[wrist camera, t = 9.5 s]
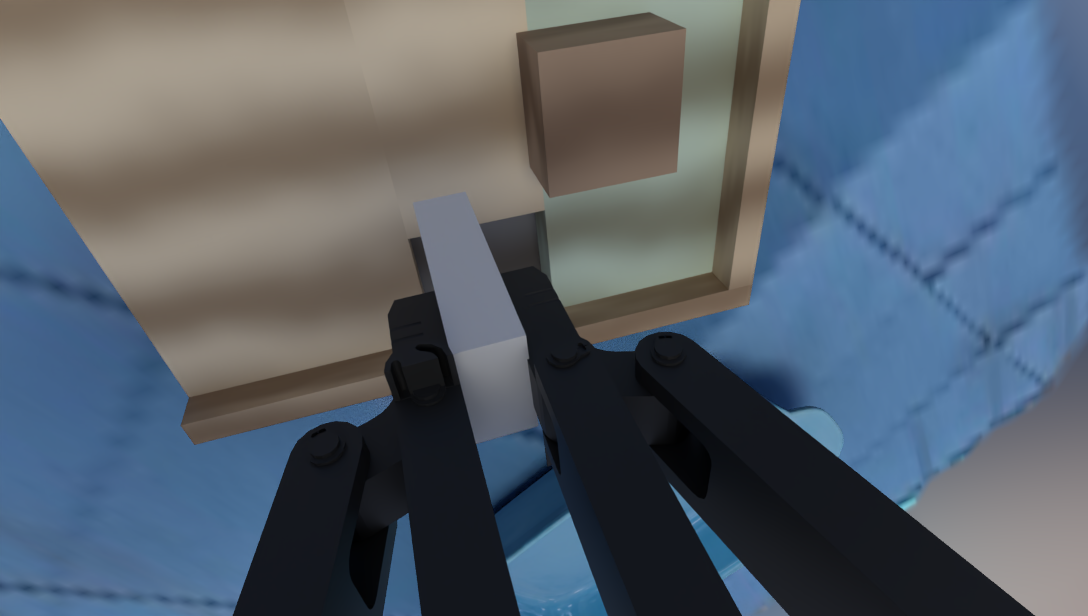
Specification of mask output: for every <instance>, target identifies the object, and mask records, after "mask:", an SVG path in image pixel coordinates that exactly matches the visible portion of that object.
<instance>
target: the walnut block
mask: <svg viewBox="0 0 1088 616" xmlns="http://www.w3.org/2000/svg"><path fill="white" fill-rule="evenodd" d="M516 38H517V48H518V58H519V67H520V77H521V87H522V96H523V106H524V116H525V125H526V135H527V145H528V155H529V164H530V168H531V170H532V171H533V173H534V174H535V176H536V177H537V179H538V181H539V182H540V184H541V185H542V187H543V189H544V190H545V192H546V193H547V195H548V196H549V198H553V197H558V196H563V195H568V194H573V193H578V192H583V191H587V190H592V189H597V188H602V187H607V186H612V185H617V184H622V183H627V182H631V181H636V180H641V179H646V178H651V177H656V176H661V175H666V174H671V173H676V172H677V164H678V148H679V133H680V118H681V102H682V87H683V72H684V56H685V41H686V28H684V27H682V26H679V25H677V24H675V23H673V22H671V21H668V20H666V19H664V18H662V17H659V16H657V15H655V14H653V13H651V12H647V13H640V14H634V15H627V16H621V17H614V18H608V19H601V20H595V21H589V22H582V23H576V24H569V25H563V26H556V27H550V28H543V29H537V30H530V31H524V32H517V33H516Z"/></svg>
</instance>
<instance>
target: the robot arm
mask: <svg viewBox="0 0 1088 616" xmlns="http://www.w3.org/2000/svg"><path fill="white" fill-rule="evenodd" d="M413 206H414V210H415V214H416V218H417V222H418V226H419V230H420V234H421V238H422V242H423V246H424V250H425V254H426V258H427V262H428V266H429V270H430V274H431V278H432V282H433V286H434V290H435V291H431V292H427V293H422V294H418V295H414V296H410V297H406V298H401V299H397V300H394V302H393V304H392V306H391V308H390V310H389V313H388V323H389V330H390V338H391V346H392V354H391V355H390V357H389V358H388V360H387V361H386V362H385V368H384V374H385V377H386V380H387V382H388V385H389V388H390V391H391V394H392V396H393V400H392V402H391V403H390V405H389V406H388V407H387V408H386V409H385V410H384V411H383V412H382V413H381V414H379V415H378V416H376V417H375V418H373V419H372V420H370V421H368V422H366V423H365V424H363V425H361V426H359V427H356V426H354V425H352V424H350V423H348V422H338V421H334V422H330V423H326V424H322V425H320V426H318V427H316V428H314V429H312V430H310V431H308V432H307V433H306V434H305V435H304V436H303V437H302V438H301V439H299V440H298V441H297V443H296V445H295V446H294V448H293V450H292V451H291V454H290V456H289V459H288V462H287V465H286V468H285V470H284V473H283V476H282V479H281V482H280V484H279V487H278V490H277V493H276V496H275V498H274V501H273V504H272V507H271V510H270V512H269V515H268V518H267V521H266V524H265V527H264V529H263V532H262V535H261V538H260V541H259V543H258V546H257V549H256V552H255V555H254V557H253V560H252V563H251V566H250V569H249V571H248V574H247V577H246V580H245V583H244V585H243V588H242V591H241V594H240V597H239V599H238V602H237V605H236V608H235V611H234V614H233V616H383V610H384V603H385V597H386V591H387V585H388V578H389V572H390V566H391V560H392V554H393V547H394V541H395V535H396V529H397V520H398V519H399V518H401V517H402V516H404V515H405V514H407V513H409V520H410V528H411V536H412V543H413V551H414V559H415V567H416V575H417V583H418V591H419V599H420V606H421V614H422V616H520V612H519V608H518V604H517V600H516V596H515V592H514V589H513V585H512V581H511V577H510V573H509V569H508V565H507V562H506V558H505V554H504V550H503V546H502V542H501V538H500V535H499V531H498V527H497V523H496V519H495V515H494V511H493V508H492V504H491V500H490V496H489V492H488V488H487V484H486V481H485V477H484V473H483V469H482V465H481V461H480V457H479V454H478V450H477V446H476V444H478V443H481V442H485V441H488V440H491V439H495V438H498V437H502V436H505V435H509V434H512V433H516V432H519V431H523V430H526V429H530V428H533V427H537V426H538V419H539V422H540V424H541V427H542V429H543V437H544V445H545V452H546V460H547V467H548V466H551V465H552V467H553V469H554V472H555V475H556V477H557V480H558V483H559V486H560V488H561V491H562V494H563V496H564V499H565V502H566V504H567V507H568V510H569V513H570V515H571V518H572V521H573V523H574V526H575V529H576V531H577V534H578V537H579V540H580V542H581V545H582V548H583V550H584V553H585V556H586V559H587V561H588V564H589V567H590V569H591V572H592V575H593V577H594V580H595V583H596V586H597V588H598V591H599V594H600V596H601V599H602V602H603V605H604V607H605V610H606V613H607V615H608V616H742V615H741V613H740V611H739V610H738V608H737V606H736V604H735V602H734V600H733V599H732V597H731V595H730V593H729V591H728V590H727V588H726V586H725V584H724V582H723V580H722V579H721V577H720V575H719V573H718V571H717V569H716V568H715V566H714V564H713V562H712V560H711V559H710V557H709V555H708V553H707V551H706V549H705V548H704V546H703V544H702V542H701V540H700V539H699V537H698V535H697V533H696V531H695V529H694V528H693V526H692V524H691V522H690V520H689V519H688V517H687V515H686V513H685V511H684V509H683V508H682V506H681V504H680V502H679V500H678V498H677V497H676V495H675V493H674V491H673V489H672V488H671V486H670V484H671V485H672V486H673V488H674V489H675V490H676V491H677V492H678V493H679V494H680V495H681V496H682V497H683V499H684V500H685V501H686V502H687V503H688V504H689V505H690V506H691V507H692V509H693V510H694V511H695V512H696V513H697V514H698V515H699V516H700V517H701V518H702V520H703V521H704V522H705V523H706V524H707V525H708V526H709V527H710V528H711V530H712V531H713V532H714V533H715V534H716V535H717V536H718V537H719V538H720V539H721V541H722V542H723V543H724V544H725V545H726V546H727V547H728V548H729V549H730V550H731V552H732V553H733V554H734V555H735V556H736V557H737V558H738V559H739V560H740V562H741V563H742V564H743V565H744V566H745V567H746V568H747V569H748V570H749V571H750V573H751V574H752V575H753V576H754V577H755V578H756V579H757V580H758V581H759V583H760V584H761V585H762V586H763V587H764V588H765V589H766V590H767V591H768V592H769V594H770V595H771V596H772V597H773V598H774V599H775V600H776V601H777V602H778V603H779V605H780V606H781V607H782V608H783V609H784V610H785V611H786V612H787V613H788V615H789V616H1035V615H1033V614H1032V613H1031V612H1030V611H1028V610H1027V609H1026V608H1025V607H1023V606H1022V605H1021V604H1020V603H1019V602H1017V601H1016V600H1015V599H1014V598H1012V597H1011V596H1010V595H1009V594H1007V593H1006V592H1005V591H1004V590H1002V589H1001V588H1000V587H999V586H997V585H996V584H995V583H994V582H992V581H991V580H990V579H988V578H987V577H986V576H985V575H984V574H982V573H981V572H980V571H979V570H978V569H976V568H975V567H974V566H973V565H971V564H970V563H969V562H968V561H966V560H965V559H964V558H962V557H961V556H960V555H959V554H957V553H956V552H955V551H954V550H953V549H951V548H950V547H949V546H948V545H946V544H945V543H944V542H942V541H941V540H940V539H939V538H938V537H936V536H935V535H934V534H933V533H931V532H930V531H929V530H928V529H926V528H925V527H924V526H922V525H921V524H920V523H919V522H918V521H917V520H915V519H914V518H913V517H912V516H910V515H909V514H908V513H907V512H905V511H904V510H903V509H902V508H900V507H899V506H898V505H897V504H895V503H894V502H893V501H892V500H890V499H889V498H888V497H887V496H886V495H884V494H883V493H882V492H881V491H879V490H878V489H877V488H876V487H874V486H873V485H872V484H871V483H869V482H868V481H867V480H866V479H864V478H863V477H862V476H861V475H859V474H858V473H857V472H856V471H854V470H853V469H852V468H851V467H849V466H848V465H847V464H846V463H844V462H843V461H842V460H841V459H840V458H838V457H837V456H836V455H835V454H833V453H832V452H831V451H830V450H828V449H827V448H826V447H825V446H823V445H822V444H821V443H820V442H818V441H817V440H816V439H815V438H813V437H812V436H811V435H810V434H808V433H807V432H806V431H805V430H803V429H802V428H801V427H800V426H798V425H797V424H796V423H795V422H794V421H792V420H791V419H790V418H789V417H787V416H786V415H785V414H784V413H782V412H781V411H780V410H779V409H777V408H776V407H775V406H774V405H772V404H771V403H770V402H769V401H767V400H766V399H765V398H764V397H762V396H761V395H760V394H759V393H757V392H756V391H755V390H754V389H752V388H751V387H750V386H749V385H748V384H746V383H745V382H744V381H743V380H741V379H740V378H739V377H738V376H736V375H735V374H734V373H733V372H731V371H730V370H729V369H728V368H726V367H725V366H724V365H723V364H721V363H720V362H719V361H718V360H716V359H715V358H714V357H713V356H711V355H710V354H709V353H708V352H706V351H705V350H704V349H703V348H702V347H700V346H699V345H698V344H697V343H695V342H694V341H693V340H691V339H689V338H687V337H686V336H684V335H681V334H677V333H673V332H658V333H654V334H651V335H648V336H646V337H645V338H643V339H642V340H641V341H639V343H638V345H637V347H636V349H635V351H626V352H613V351H604V350H600V349H596V348H594V346H593V345H592V344H591V343H590V342H589V341H588V340H586V339H583V338H581V337H580V336H579V334H578V333H577V331H576V329H575V327H574V325H573V323H572V321H571V320H570V318H569V316H568V314H567V312H566V310H565V308H564V306H563V305H562V303H561V301H560V300H559V297H558V295H557V293H556V292H555V290H554V289H553V286H552V284H551V282H550V280H549V278H548V277H547V275H546V274H544V273H543V272H541V271H540V270H538V269H537V268H535V267H534V266H530V267H526V268H522V269H518V270H513V271H509V272H505V273H501V274H500V272H499V270H498V268H497V265H496V263H495V261H494V258H493V256H492V253H491V251H490V249H489V246H488V244H487V242H486V239H485V237H484V234H483V232H482V230H481V227H480V225H479V223H478V220H477V218H476V216H475V213H474V211H473V208H472V206H471V204H470V201H469V199H468V197H467V194H466V192H461V193H456V194H451V195H447V196H442V197H437V198H432V199H428V200H423V201H418V202H413ZM537 416H538V419H537ZM669 483H670V484H669Z"/></svg>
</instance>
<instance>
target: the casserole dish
mask: <svg viewBox="0 0 1088 616" xmlns="http://www.w3.org/2000/svg"><path fill="white" fill-rule="evenodd" d="M761 396H762V395H761ZM762 397H763V396H762ZM764 398H765V397H764ZM765 399H766V398H765ZM766 400H767V401H769V400H768V399H766ZM769 402H770V403H771V404H772V405H774V406H775V407H776V408H777V409H779V410H780V411H781V412H782V413H784V414H785V415H786V416H787V417H789V418H790V419H791V420H792V421H794V422H795V423H796V424H797V425H798V426H800V427H801V428H802V429H803V430H805V431H806V432H807V433H808V434H810V435H811V436H812V437H813V438H815V439H816V440H817V441H818V442H820V443H821V444H822V445H823V446H825V447H826V448H827V449H828V450H830V451H831V452H832V453H833V454H835V455H836V456H837V457H838V458H839V455H840V452H841V449H842V447H843V434H842V431H841V429H840V428H839V426H838V425H837V423H836V422H835V421H834V419H833V418H832V417H831V416H830V415H829V414H828V413H827V412H825V411H824V410H823V409H820V408H817V407H813V406H805V407H799V408H795V409H790V410H785V409H783V408H782V407H780V406H778V405H776V404H774V403H772V402H771V401H769ZM669 484H670V483H669ZM670 486H671V488H672V489H673V491H674V493H675V495H676V497H677V498H678V500H679V502H680V504H681V506H682V508H683V509H684V511H685V513H686V515H687V517H688V519H689V520H690V522H691V524H692V526H693V528H694V529H695V531H696V533H697V535H698V537H699V539H700V540H701V542H702V544H703V546H704V548H705V549H706V551H707V553H708V555H709V557H710V559H711V560H712V562H713V564H714V566H715V568H716V569H717V571H718V573H719V575H720V577H721V579H722V580H723V579H725V578H726V577H728V576H729V575H731V574H732V573H734V572H735V571H737V570H738V569H740V568H742V567H743V566H744V565H743V564H742V563H741V562H740V560H739V559H738V558H737V557H736V556H735V555H734V554H733V553H732V552H731V550H730V549H729V548H728V547H727V546H726V545H725V544H724V543H723V542H722V541H721V539H720V538H719V537H718V536H717V535H716V534H715V533H714V532H713V531H712V530H711V528H710V527H709V526H708V525H707V524H706V523H705V522H704V521H703V520H702V518H701V517H700V516H699V515H698V514H697V513H696V512H695V511H694V510H693V509H692V507H691V506H690V505H689V504H688V503H687V502H686V501H685V500H684V499H683V497H682V496H681V495H680V494H679V493H678V492H677V491H676V490H675V489H674V488H673V486H672V485H671V484H670ZM495 519H496V523H497V527H498V531H499V535H500V538H501V542H502V546H503V550H504V554H505V558H506V562H507V565H508V569H509V573H510V577H511V581H512V585H513V589H514V592H515V596H516V600H517V604H518V608H519V612H520V616H608V615H607V613H606V610H605V607H604V605H603V602H602V599H601V596H600V594H599V591H598V588H597V586H596V583H595V580H594V577H593V575H592V572H591V569H590V567H589V564H588V561H587V559H586V556H585V553H584V550H583V548H582V545H581V542H580V540H579V537H578V534H577V531H576V529H575V526H574V523H573V521H572V518H571V515H570V513H569V510H568V507H567V504H566V502H565V499H564V496H563V494H562V491H561V488H560V486H559V483H558V480H557V477H556V475H555V472H554V469H552V470H550V471H549V472H548V473H547V474H545V475H544V476H543V477H541V478H540V479H539V480H538V481H536V482H535V483H534V484H532V485H531V486H530V487H529V488H527V489H526V490H525V491H523V492H522V493H521V494H520V495H518V496H517V497H516V498H514V499H513V500H512V501H511V502H509V503H508V504H507V505H506V506H504V507H503V508H502V509H501V510H500V511H498V512H497V513H496V514H495Z"/></svg>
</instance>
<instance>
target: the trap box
mask: <svg viewBox="0 0 1088 616" xmlns="http://www.w3.org/2000/svg"><path fill="white" fill-rule="evenodd" d="M800 1H801V0H0V119H1V120H2V121H3V123H4V124H5V126H6V127H7V129H8V130H9V132H10V133H11V135H12V136H13V138H14V139H15V141H16V142H17V144H18V145H19V147H20V148H21V150H22V151H23V153H24V154H25V156H26V157H27V158H28V160H29V161H30V163H31V164H32V166H33V167H34V169H35V170H36V172H37V173H38V175H39V176H40V178H41V179H42V181H43V182H44V184H45V185H46V187H47V188H48V190H49V191H50V193H51V194H52V195H53V197H54V198H55V200H56V201H57V203H58V204H59V206H60V207H61V209H62V210H63V212H64V213H65V215H66V216H67V218H68V219H69V221H70V222H71V224H72V225H73V227H74V228H75V230H76V231H77V232H78V234H79V235H80V237H81V238H82V240H83V241H84V243H85V244H86V246H87V247H88V249H89V250H90V252H91V253H92V255H93V256H94V258H95V259H96V261H97V262H98V264H99V265H100V266H101V268H102V269H103V271H104V272H105V274H106V275H107V277H108V278H109V280H110V281H111V283H112V284H113V286H114V287H115V289H116V290H117V292H118V293H119V295H120V296H121V298H122V299H123V301H124V302H125V303H126V305H127V306H128V308H129V309H130V311H131V312H132V314H133V315H134V317H135V318H136V320H137V321H138V323H139V324H140V326H141V327H142V329H143V330H144V332H145V333H146V335H147V336H148V338H149V339H150V340H151V342H152V343H153V345H154V346H155V348H156V349H157V351H158V352H159V354H160V355H161V357H162V358H163V360H164V361H165V363H166V364H167V366H168V367H169V369H170V370H171V372H172V373H173V375H174V376H175V377H176V379H177V380H178V382H179V383H180V385H181V386H182V388H183V389H184V391H185V392H186V394H187V395H188V397H189V399H188V403H187V406H186V409H185V413H184V416H183V420H182V423H181V427H182V428H183V429H184V431H185V432H186V434H187V435H188V436H189V438H190V439H191V441H192V442H193V443H194V445H196V444H200V443H204V442H207V441H211V440H215V439H219V438H223V437H227V436H231V435H235V434H239V433H243V432H247V431H251V430H255V429H259V428H263V427H267V426H271V425H275V424H279V423H283V422H287V421H290V420H294V419H298V418H302V417H306V416H310V415H314V414H318V413H322V412H326V411H330V410H334V409H338V408H342V407H346V406H350V405H354V404H358V403H362V402H366V401H370V400H373V399H377V398H381V397H385V396H389V395H392V394H391V391H390V388H389V385H388V382H387V380H386V377H385V374H384V368H385V362H386V361H387V360H388V358H389V357H390V355H391V354H392V346H391V338H390V330H389V323H388V313H389V310H390V308H391V306H392V304H393V302H394V300H397V299H401V298H406V297H410V296H414V295H418V294H422V293H427V292H431V291H435V290H434V286H433V282H432V278H431V274H430V270H429V266H428V262H427V258H426V254H425V250H424V246H423V242H422V238H421V234H420V230H419V226H418V222H417V218H416V214H415V210H414V206H413V202H418V201H423V200H428V199H432V198H437V197H442V196H447V195H451V194H456V193H461V192H466V194H467V197H468V199H469V201H470V204H471V206H472V208H473V211H474V213H475V216H476V218H477V220H478V223H479V225H480V227H481V230H482V232H483V234H484V237H485V239H486V242H487V244H488V246H489V249H490V251H491V253H492V256H493V258H494V261H495V263H496V265H497V268H498V270H499V272H500V274H501V273H505V272H509V271H513V270H518V269H522V268H526V267H530V266H534V267H535V268H537V269H538V270H540V271H541V272H543V273H544V274H546V275H547V277H548V278H549V280H550V282H551V284H552V286H553V289H554V290H555V292H556V293H557V295H558V297H559V300H560V301H561V303H562V305H563V306H564V308H565V310H566V312H567V314H568V316H569V318H570V320H571V321H572V323H573V325H574V327H575V329H576V331H577V333H578V334H579V336H580V337H581V338H583V339H586V340H588V341H589V342H590V343H591V344H595V343H599V342H603V341H607V340H611V339H615V338H618V337H622V336H626V335H630V334H634V333H638V332H642V331H646V330H650V329H654V328H658V327H662V326H666V325H670V324H674V323H678V322H682V321H686V320H690V319H694V318H698V317H701V316H705V315H709V314H713V313H717V312H721V311H725V310H729V309H733V308H737V307H741V306H745V305H749V301H750V295H751V289H752V283H753V277H754V271H755V265H756V260H757V254H758V248H759V242H760V236H761V230H762V224H763V218H764V213H765V207H766V201H767V195H768V189H769V183H770V177H771V171H772V166H773V160H774V154H775V148H776V142H777V136H778V130H779V124H780V119H781V113H782V107H783V101H784V95H785V89H786V83H787V77H788V72H789V66H790V60H791V54H792V48H793V42H794V36H795V30H796V25H797V19H798V13H799V7H800ZM647 12H651V13H653V14H655V15H657V16H659V17H662V18H664V19H666V20H668V21H671V22H673V23H675V24H677V25H679V26H682V27H684V28H686V41H685V56H684V72H683V87H682V102H681V118H680V133H679V148H678V164H677V172H676V173H671V174H666V175H661V176H656V177H651V178H646V179H641V180H636V181H631V182H627V183H622V184H617V185H612V186H607V187H602V188H597V189H592V190H587V191H583V192H578V193H573V194H568V195H563V196H558V197H553V198H549V196H548V195H547V193H546V192H545V190H544V189H543V187H542V185H541V184H540V182H539V181H538V179H537V177H536V176H535V174H534V173H533V171H532V170H531V168H530V164H529V155H528V145H527V135H526V125H525V116H524V106H523V96H522V87H521V77H520V67H519V58H518V48H517V38H516V33H517V32H524V31H530V30H537V29H543V28H550V27H556V26H563V25H569V24H576V23H582V22H589V21H595V20H601V19H608V18H614V17H621V16H627V15H634V14H640V13H647Z"/></svg>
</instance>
